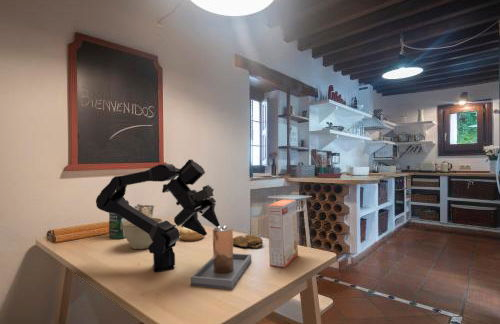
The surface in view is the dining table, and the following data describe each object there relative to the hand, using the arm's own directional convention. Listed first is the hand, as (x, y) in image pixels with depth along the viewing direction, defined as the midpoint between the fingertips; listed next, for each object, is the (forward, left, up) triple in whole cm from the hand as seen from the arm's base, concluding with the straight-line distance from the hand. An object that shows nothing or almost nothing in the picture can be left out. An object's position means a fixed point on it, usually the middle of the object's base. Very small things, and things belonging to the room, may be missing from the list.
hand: (212, 230), depth 91 cm
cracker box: (+25, -2, -14) cm, 29 cm away
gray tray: (+3, -2, -13) cm, 14 cm away
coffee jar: (-30, +63, -14) cm, 71 cm away
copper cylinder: (+3, -2, -13) cm, 13 cm away
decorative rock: (+22, +21, -14) cm, 33 cm away
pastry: (+2, +43, -14) cm, 45 cm away
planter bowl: (-20, +41, -14) cm, 48 cm away
